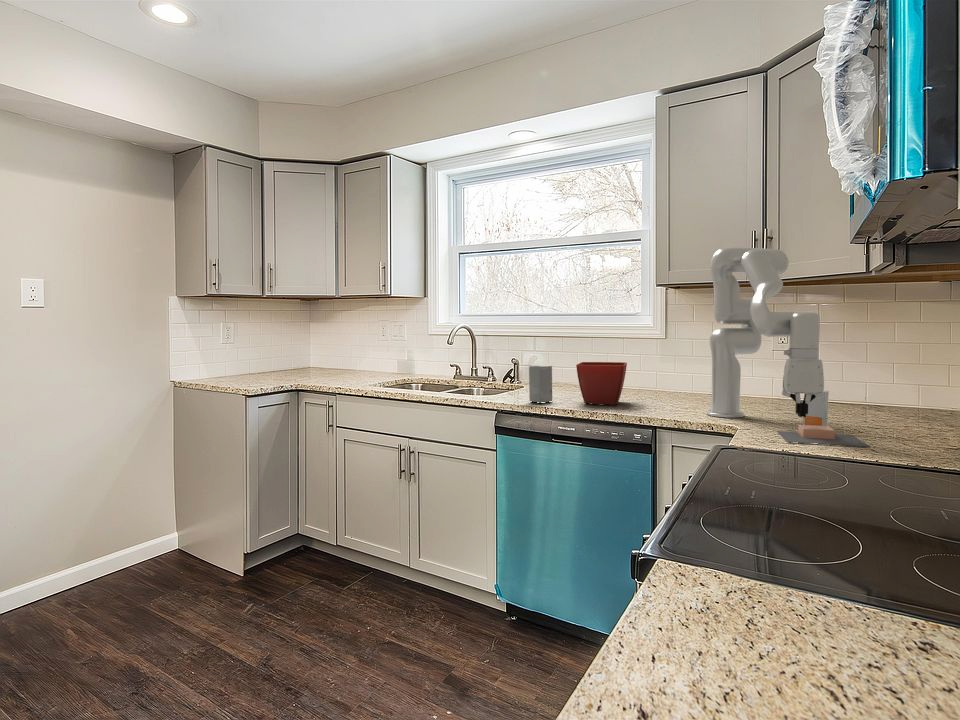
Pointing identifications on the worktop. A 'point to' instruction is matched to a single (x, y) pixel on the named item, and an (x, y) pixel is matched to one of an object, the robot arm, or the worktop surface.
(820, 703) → the worktop surface
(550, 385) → the grey canister
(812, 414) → the skincare box
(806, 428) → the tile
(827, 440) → the mat
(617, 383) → the plant pot
